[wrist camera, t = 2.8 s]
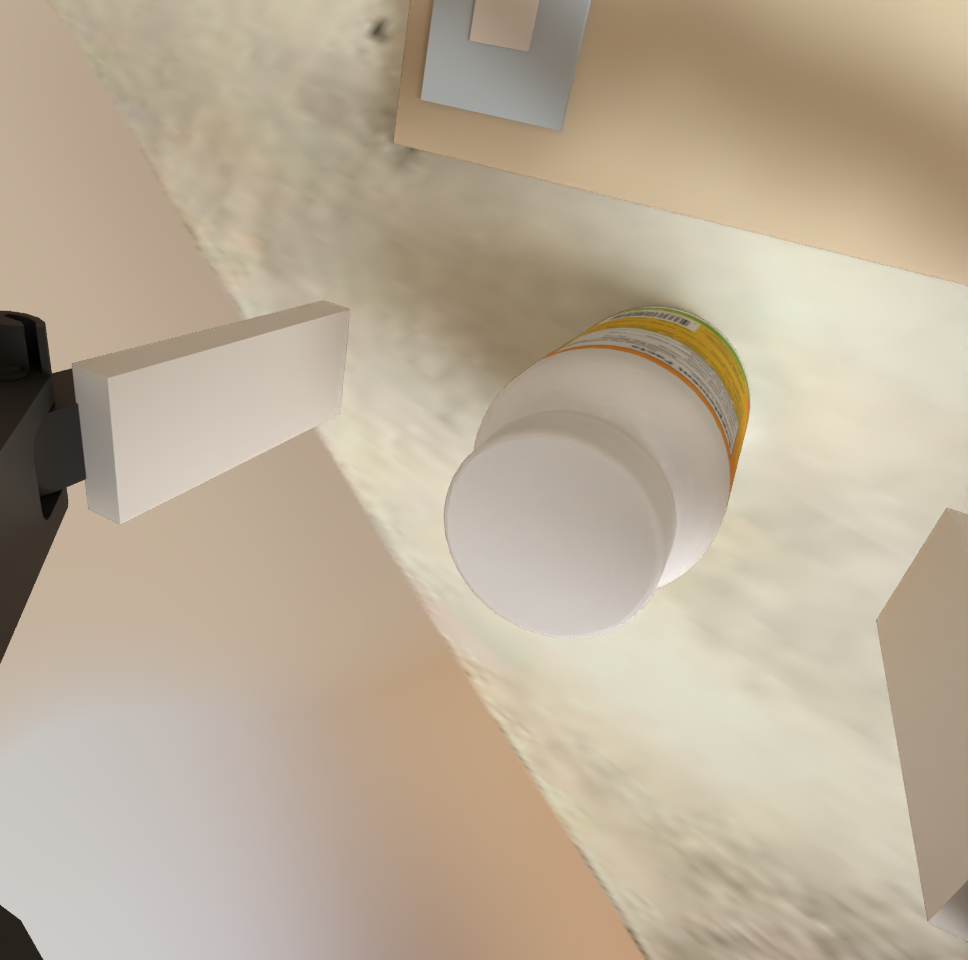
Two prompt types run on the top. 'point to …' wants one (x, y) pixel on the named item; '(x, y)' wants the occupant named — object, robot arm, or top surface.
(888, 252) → the beige and green stand
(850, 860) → the top surface
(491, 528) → the supplement bottle
